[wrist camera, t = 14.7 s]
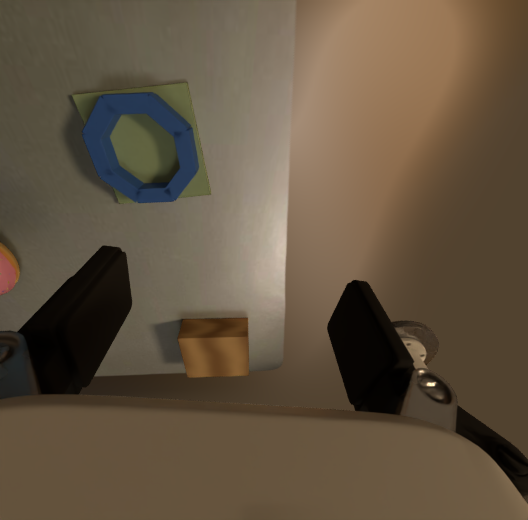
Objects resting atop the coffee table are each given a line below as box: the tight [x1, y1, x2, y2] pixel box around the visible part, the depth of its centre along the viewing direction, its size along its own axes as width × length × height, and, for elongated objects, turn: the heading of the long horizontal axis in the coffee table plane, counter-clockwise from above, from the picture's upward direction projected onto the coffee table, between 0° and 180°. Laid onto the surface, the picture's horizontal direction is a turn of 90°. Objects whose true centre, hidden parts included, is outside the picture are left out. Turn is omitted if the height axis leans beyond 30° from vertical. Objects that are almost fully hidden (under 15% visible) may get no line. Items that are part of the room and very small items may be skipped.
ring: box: [82, 92, 199, 203], centre depth 26 cm, size 10×10×2 cm
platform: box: [178, 318, 249, 378], centre depth 45 cm, size 11×11×4 cm
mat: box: [72, 82, 211, 204], centre depth 27 cm, size 11×11×1 cm
